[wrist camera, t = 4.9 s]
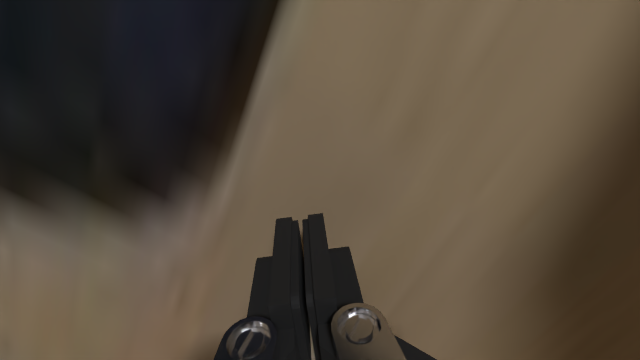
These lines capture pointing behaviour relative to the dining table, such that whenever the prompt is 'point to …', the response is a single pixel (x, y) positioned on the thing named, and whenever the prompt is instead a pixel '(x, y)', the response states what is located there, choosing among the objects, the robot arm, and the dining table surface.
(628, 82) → the dining table surface
